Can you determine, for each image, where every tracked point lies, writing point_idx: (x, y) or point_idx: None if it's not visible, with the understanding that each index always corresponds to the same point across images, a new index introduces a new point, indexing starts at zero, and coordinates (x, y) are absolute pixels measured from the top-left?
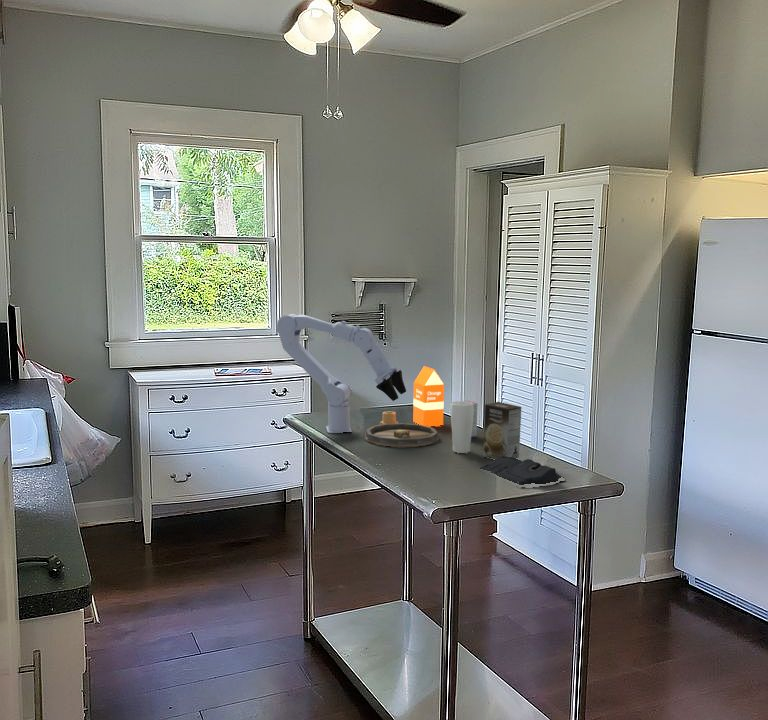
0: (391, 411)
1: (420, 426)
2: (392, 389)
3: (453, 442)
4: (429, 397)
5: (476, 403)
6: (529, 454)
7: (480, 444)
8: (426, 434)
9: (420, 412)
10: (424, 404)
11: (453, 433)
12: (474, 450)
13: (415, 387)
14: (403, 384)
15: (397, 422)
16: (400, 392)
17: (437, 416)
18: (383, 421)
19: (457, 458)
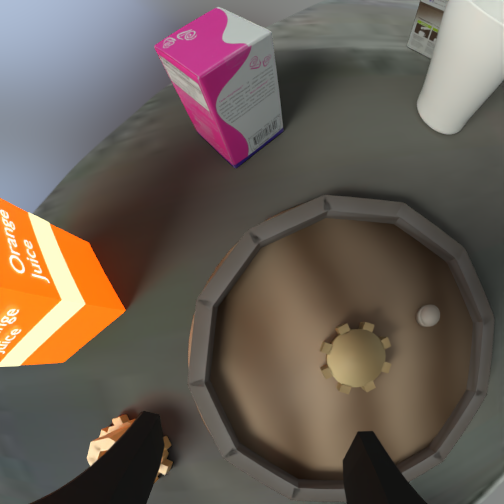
0: (87, 456)
1: (216, 301)
2: (418, 497)
3: (471, 116)
4: (32, 267)
5: (219, 8)
6: (366, 2)
7: (327, 77)
8: (290, 258)
9: (71, 326)
10: (66, 297)
11: (486, 99)
12: (403, 86)
13: None
14: (123, 457)
15: (122, 420)
16: (160, 456)
17: (76, 253)
18: None
19: (493, 122)
